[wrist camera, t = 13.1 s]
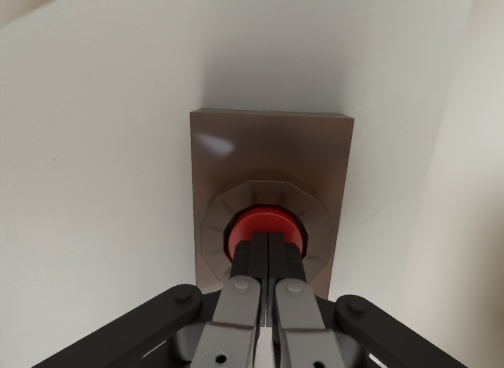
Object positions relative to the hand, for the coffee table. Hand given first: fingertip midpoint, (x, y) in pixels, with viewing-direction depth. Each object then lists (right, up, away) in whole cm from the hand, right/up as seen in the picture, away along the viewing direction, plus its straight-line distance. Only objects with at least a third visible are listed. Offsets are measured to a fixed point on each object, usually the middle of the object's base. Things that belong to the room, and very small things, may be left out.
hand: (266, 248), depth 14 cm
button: (0, +1, +2) cm, 2 cm away
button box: (0, +1, +4) cm, 4 cm away
